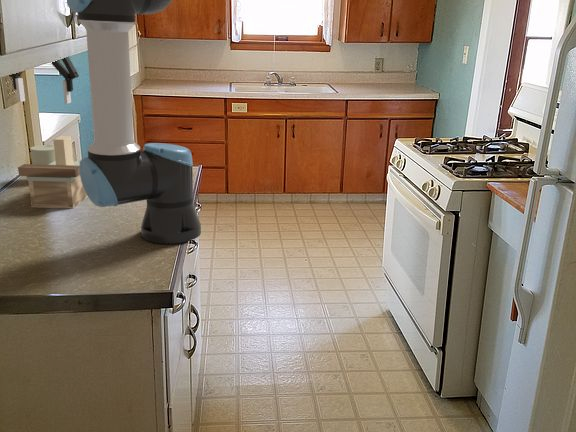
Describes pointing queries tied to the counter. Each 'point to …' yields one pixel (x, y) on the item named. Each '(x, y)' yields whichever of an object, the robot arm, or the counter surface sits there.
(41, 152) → the can
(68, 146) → the lid
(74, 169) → the brown rectangular block
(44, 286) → the counter surface
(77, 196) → the light wood open box
